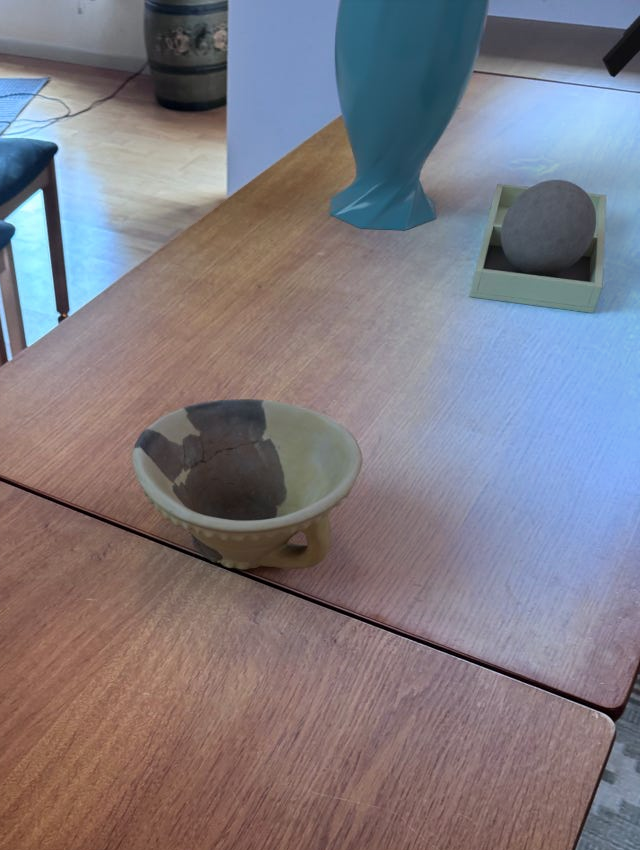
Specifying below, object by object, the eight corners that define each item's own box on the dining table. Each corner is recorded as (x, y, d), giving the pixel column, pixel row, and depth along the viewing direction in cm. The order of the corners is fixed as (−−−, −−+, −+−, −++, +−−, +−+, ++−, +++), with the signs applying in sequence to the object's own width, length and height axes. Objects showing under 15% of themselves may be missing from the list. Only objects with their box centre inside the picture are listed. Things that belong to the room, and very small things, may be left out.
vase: (314, 231, 118) (342, -55, 96) (321, 180, 129) (348, -86, 108) (450, 238, 116) (511, -54, 94) (445, 185, 127) (499, -86, 105)
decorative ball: (475, 261, 109) (495, 173, 102) (545, 247, 111) (570, 160, 104) (524, 297, 103) (549, 207, 95) (598, 282, 105) (628, 192, 98)
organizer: (598, 219, 118) (606, 194, 116) (593, 313, 102) (602, 286, 99) (491, 207, 122) (497, 183, 119) (468, 296, 105) (475, 270, 103)
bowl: (390, 540, 76) (411, 445, 69) (247, 653, 68) (254, 558, 61) (235, 454, 85) (240, 362, 78) (91, 545, 77) (82, 451, 70)
